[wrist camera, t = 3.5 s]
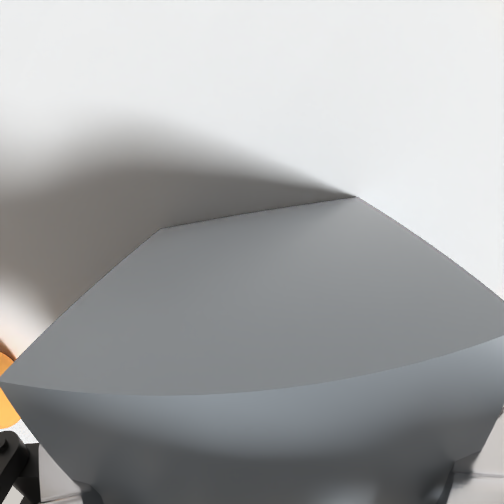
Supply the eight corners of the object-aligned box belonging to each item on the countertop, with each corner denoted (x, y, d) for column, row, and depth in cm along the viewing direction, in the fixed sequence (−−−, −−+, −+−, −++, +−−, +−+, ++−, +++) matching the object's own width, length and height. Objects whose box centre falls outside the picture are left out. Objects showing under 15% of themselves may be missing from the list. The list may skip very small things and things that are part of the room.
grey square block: (160, 229, 12) (-4, 380, 3) (357, 197, 11) (530, 324, 3) (205, 381, 14) (161, 556, 6) (365, 361, 13) (422, 537, 5)
